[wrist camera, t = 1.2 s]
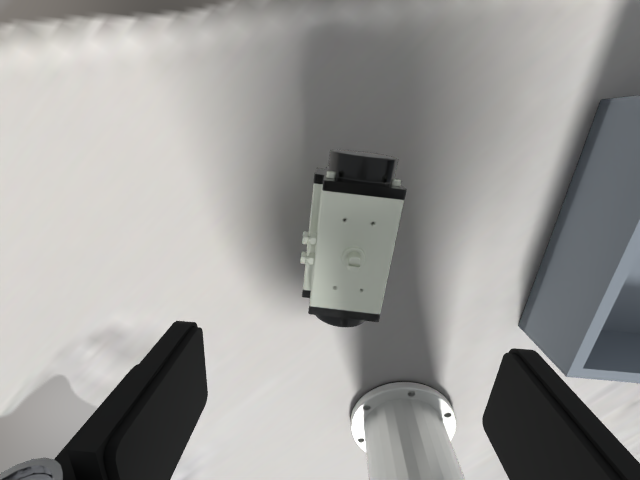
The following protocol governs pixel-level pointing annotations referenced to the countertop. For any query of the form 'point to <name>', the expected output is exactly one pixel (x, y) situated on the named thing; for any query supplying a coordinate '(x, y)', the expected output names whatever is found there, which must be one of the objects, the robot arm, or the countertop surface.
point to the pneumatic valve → (351, 236)
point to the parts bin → (595, 257)
